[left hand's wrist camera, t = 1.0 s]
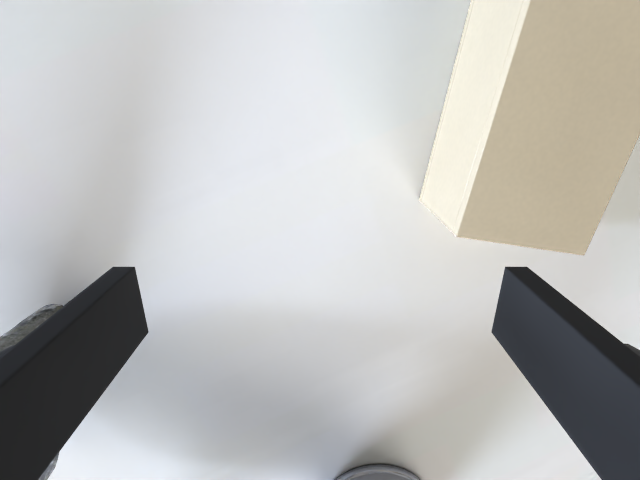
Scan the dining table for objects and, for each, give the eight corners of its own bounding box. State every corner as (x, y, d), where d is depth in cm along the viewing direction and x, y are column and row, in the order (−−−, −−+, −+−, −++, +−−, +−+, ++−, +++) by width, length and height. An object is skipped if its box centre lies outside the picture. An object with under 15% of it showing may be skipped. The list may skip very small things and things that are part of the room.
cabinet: (479, -36, 29) (563, -108, 19) (595, -13, 30) (735, -72, 20) (418, 200, 36) (455, 237, 26) (512, 214, 37) (584, 256, 27)
